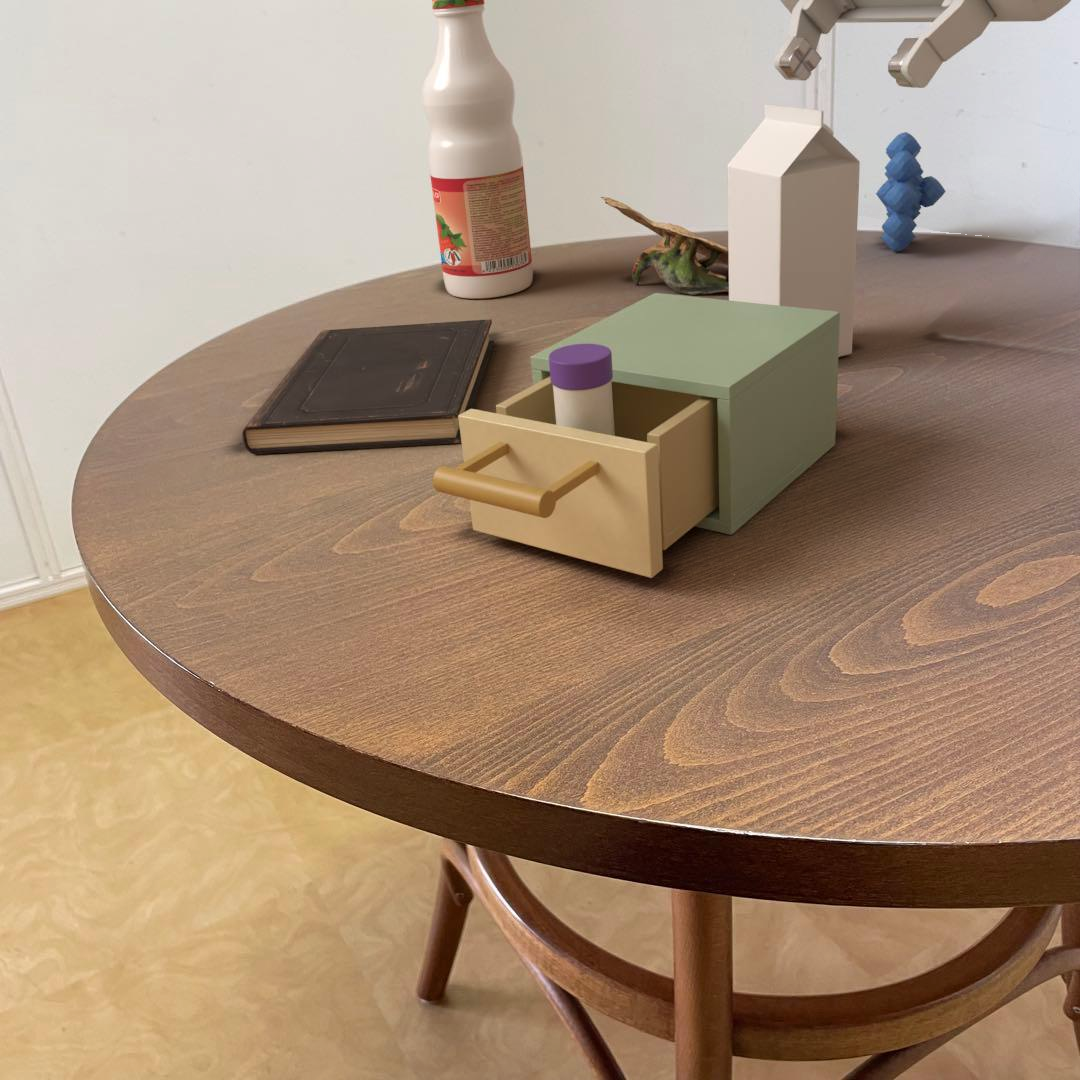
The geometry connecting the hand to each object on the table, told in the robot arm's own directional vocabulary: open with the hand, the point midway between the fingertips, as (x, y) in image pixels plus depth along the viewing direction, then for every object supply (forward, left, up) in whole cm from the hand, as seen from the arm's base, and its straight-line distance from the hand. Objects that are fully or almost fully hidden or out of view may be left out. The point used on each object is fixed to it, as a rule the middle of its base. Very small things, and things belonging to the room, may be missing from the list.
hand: (841, 76), depth 61 cm
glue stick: (+8, +15, -21) cm, 27 cm away
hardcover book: (+38, +1, -24) cm, 45 cm away
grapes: (+15, -54, -24) cm, 60 cm away
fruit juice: (+50, -28, -24) cm, 62 cm away
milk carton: (+12, -20, -24) cm, 33 cm away
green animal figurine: (+30, -35, -24) cm, 52 cm away
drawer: (+8, +14, -22) cm, 28 cm away
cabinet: (+8, +3, -23) cm, 25 cm away
